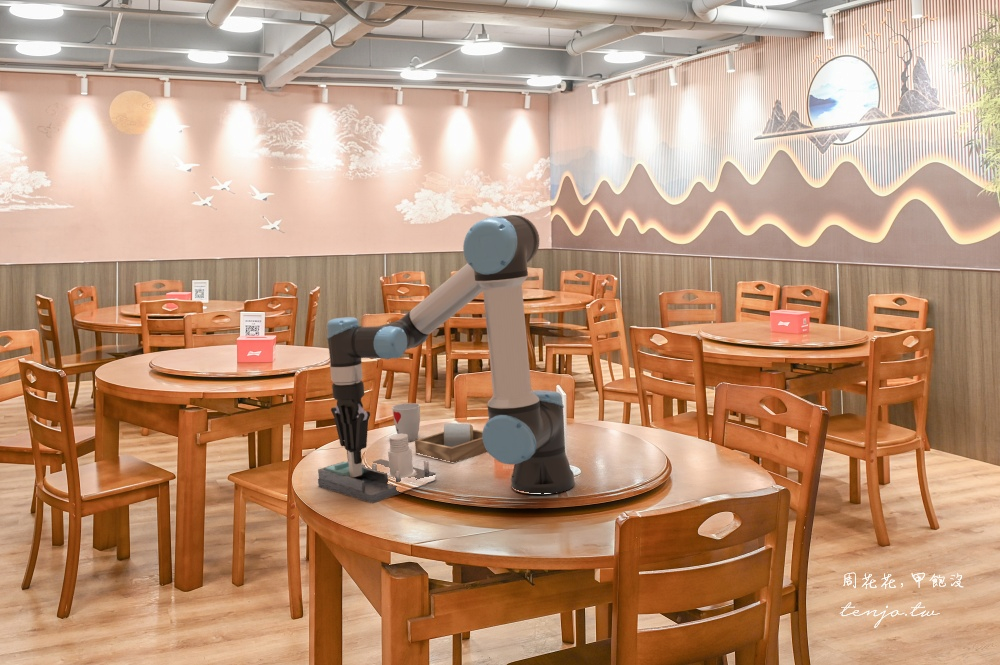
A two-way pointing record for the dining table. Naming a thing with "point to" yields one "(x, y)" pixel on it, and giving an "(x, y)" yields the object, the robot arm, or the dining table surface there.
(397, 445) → the downlight
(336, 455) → the dining table surface
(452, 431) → the ceramic mug
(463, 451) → the wooden caddy
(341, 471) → the cover
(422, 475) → the housing board
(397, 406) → the cup
